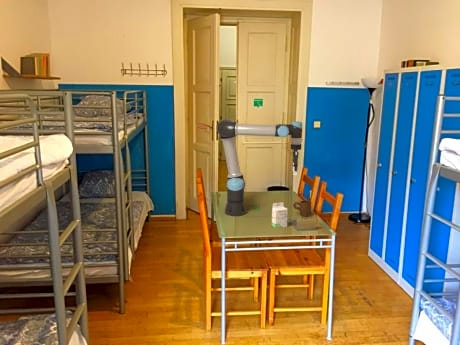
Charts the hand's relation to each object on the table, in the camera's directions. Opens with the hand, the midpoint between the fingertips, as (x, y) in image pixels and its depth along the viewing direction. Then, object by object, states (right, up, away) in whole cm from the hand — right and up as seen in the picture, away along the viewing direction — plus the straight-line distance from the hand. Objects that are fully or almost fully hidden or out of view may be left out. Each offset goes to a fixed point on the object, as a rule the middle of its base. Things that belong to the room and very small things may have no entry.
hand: (294, 173), depth 286 cm
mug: (+3, -29, -10) cm, 30 cm away
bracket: (-1, -32, -32) cm, 45 cm away
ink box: (-15, -33, -34) cm, 50 cm away
